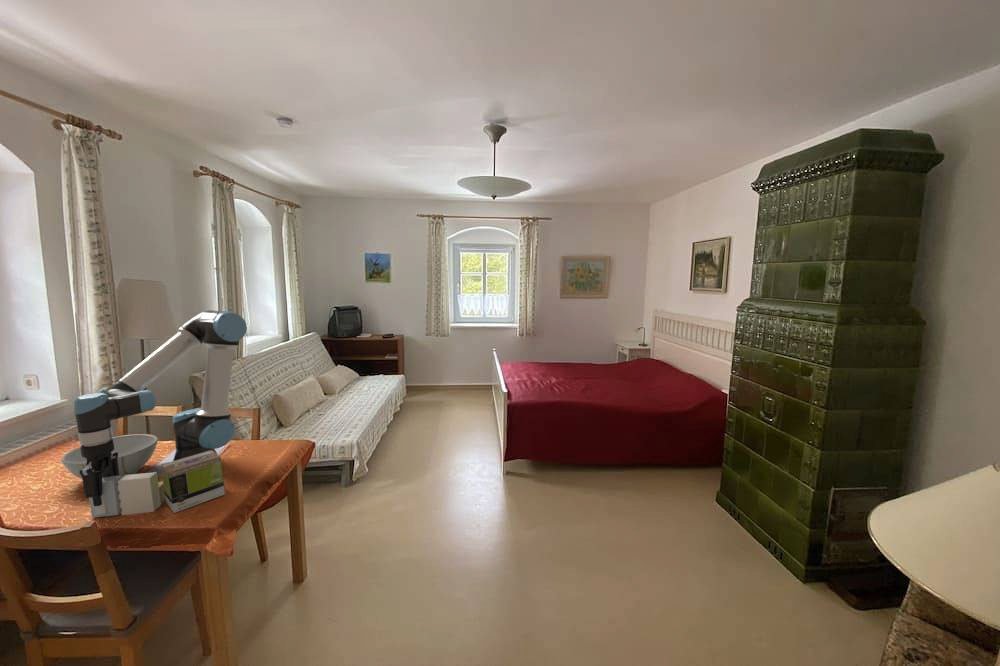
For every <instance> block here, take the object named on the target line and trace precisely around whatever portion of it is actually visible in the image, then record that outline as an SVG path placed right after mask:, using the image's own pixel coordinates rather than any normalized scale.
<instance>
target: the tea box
mask: <svg viewBox="0 0 1000 666" xmlns="http://www.w3.org/2000/svg"><path fill="white" fill-rule="evenodd" d="M217 454H218V453H217ZM217 454H216V453H214V452H213V451H212V450H209V451H206V452H203V453H199V454H196V455H192V456H189V457H185V458H182V459H179V460H175V461H173V460H172V461H169V462H165V463H162V464H160V469H161V475H162V477H161V478H162V482H163V484H164V492H165V498H166V499H165V502H166V504H167V505H168V507H169V508H170V510H171V512H172V513H173V514H176V513H178V512H181V511H184V510H186V509H188V508H192V507H195V506H197V505H200V504H202V503H205V502H208V501H210V500H211V501H212V500H213V499H216V498H219V497H221V496H224V495H226V490H225V481H224V475H223V474H224V472H223V467H222V466H223V465H222V459H221V456H220V455H217Z"/></svg>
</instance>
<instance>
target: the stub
mask: <svg viewBox="0 0 1000 666" xmlns="http://www.w3.org/2000/svg"><path fill="white" fill-rule="evenodd" d="M121 477H122V475H121V476H110V477H102V494H105V501H106V508H107V513H106V514H99V515H95V508H94V505H93V498H92V497H91V498H88V500H89V501H88V502H89V507H90V508H89V509H90V515H91V518H92V519H95V518H102V517H110V516H111V517H112V516H118V515H119V514H121V511H120V508H121V507H120V503H119V495H118V486H117V480H118V479H120V478H121Z"/></svg>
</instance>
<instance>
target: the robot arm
mask: <svg viewBox="0 0 1000 666" xmlns="http://www.w3.org/2000/svg"><path fill="white" fill-rule="evenodd" d="M247 329H248V327H247V322H246V320H245V318H244V317H242V315H240V314H238V313H236V312H232V311H228V310H224V311H222V310H205V311H202V312H200V313H198V314H196V315H194V316H193V317H191V318H190V319H189V320H187V321H186V322H185V323H184V324H182V325H181V326H180V327H178V328H177V333H175V334H174V335H173V336H172V337H170V338H169V339H168V340H167V341H165V342H164V343H163V344H162V345H161V346H160V347H158V348H157V349H155V351H153V352H152V353H151V354H149V355H148V356H147V357H146V358H144V360H142V361H141V362H139V364H137V365H136V366H135V367H133V368H132V369H131V370H130V371H128V372H127V373H126V374H125V375H123V376H122V377H121V378H120V379H118V380H117V381H116V382H115V383H113V384H112V385H111V386H106V387H103V388H101V389H99V390H98V391H97V392H94V393H88V394H83V395H80V396H78V397H76V398H75V399H74V401H73V404H74V405H73V406H74V409H73V410H74V411H73V412H74V416H75V422H76V427H77V432H78V440H79V444H80V446H79V447H80V449H81V456H82V457H84V458H86V459H87V462H86V468H85V469H81V470H80V471H79V473H80V474H81V476H82V479H81V480H82V485H83V490H84V494H85V495H84V496H85V498H86V499H89V498H91V497H92V498H93V505H94V508H95V515H99V514H106V513H107V508H106V501H105V494H102V477H110V476H119V469H118V460H117V459H118V452H114V453H111V452H112V451H113V450H114V442H113V439H112V438H113V437H114V435H113V429H112V421H113V420H115V421H116V420H118V419H122V418H127V417H131V416H135V415H141V414H144V413H146V412H151V411H153V410H154V409H155V408H156V405H157V401H156V400H157V398H156V397H155V394H154V392H153V391H151V390H149V389H145V388H147V387H148V386H150V384H152V383H153V382H154V381H155V380H156V379H157V378H159V377H160V376H161V375H162V374H164V372H166V371H167V370H168V369H169V368H170V367H172V366H173V365H174V364H175V363H177V362H178V361H179V360H180V359H181V358H182V357H183V356H185V354H187V353H188V352H190V350H192V349H193V348H194V347H198V346H201V345H202V344H203V345H205V347H207V355H206V362H205V371H204V379H203V388H202V397H201V407H197V408H192V409H188V410H184V411H180V412H178V413H175V414H174V415H173V416H172V427H173V428H172V429H173V436H174V443H175V453H174V456H173V459H172V461H175V460H179V459H182V458H185V457H189V456H192V455H196V454H199V453H203V452H206V451H209V450H212V451H213V452H214V453H216V454H217V455H218V452H217V450H216V449H220V448H222V447H225V446H226V445H228V443H230V442H231V441H232V439H233V437H234V436H235V434H236V426H235V423H234V422H233V421H232V420H231V417H232V412H231V410H229V409H228V405H229V396H230V386H231V378H232V368H233V361H234V360H233V359H234V351H235V349H237V348H238V347H239V346H240V340H242V339H243V338H244V337H245V335H246V334H247ZM218 456H219V455H218ZM96 471H99V472H96Z"/></svg>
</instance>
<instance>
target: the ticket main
mask: <svg viewBox="0 0 1000 666" xmlns="http://www.w3.org/2000/svg"><path fill="white" fill-rule="evenodd" d="M117 486H118V495H119V503H120V507H121V508H120V511H121V513H120V514H121V516H127V515H128V516H129V515H136V514H144V513H145V514H146V513H154V512H156V511H157V510H158V508H160V506H161V505H162V503H163V502H165V501H166V498H165V492H164V484H163V481H159V478H158V472H157V471H154V472H145V473H142V472H141V473H136V474H132V475H124V476H122V477H121V478H120V479H118V480H117Z"/></svg>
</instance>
